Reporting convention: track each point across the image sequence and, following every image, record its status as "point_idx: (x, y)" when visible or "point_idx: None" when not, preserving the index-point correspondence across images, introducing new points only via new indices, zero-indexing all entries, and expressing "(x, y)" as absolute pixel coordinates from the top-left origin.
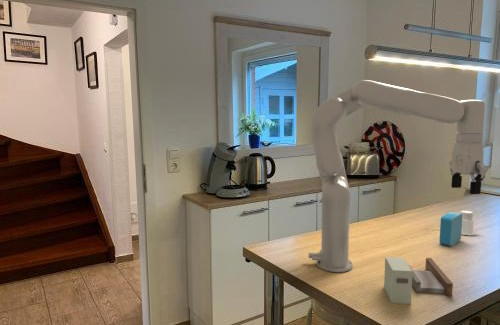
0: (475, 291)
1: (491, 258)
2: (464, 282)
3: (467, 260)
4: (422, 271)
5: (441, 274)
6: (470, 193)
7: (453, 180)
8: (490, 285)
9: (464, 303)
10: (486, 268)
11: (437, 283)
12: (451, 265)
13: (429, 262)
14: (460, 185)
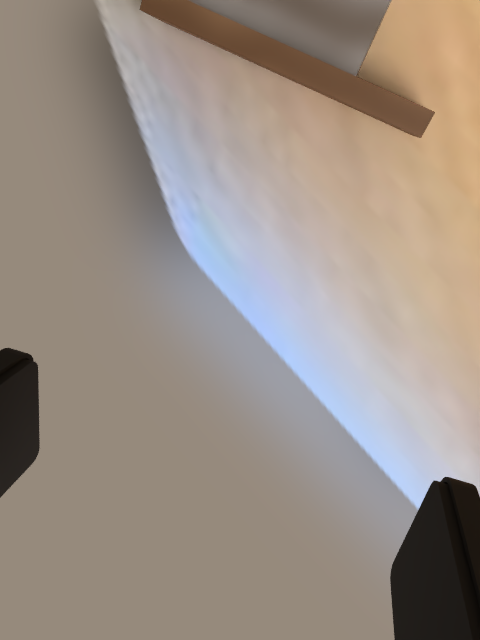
0: (178, 155)
1: (388, 457)
2: (250, 178)
3: (413, 366)
4: (365, 27)
5: (232, 30)
6: (17, 350)
7: (458, 586)
8: (205, 251)
9: (108, 28)
10: (323, 363)
11: (233, 6)
12: (401, 262)
13: (379, 87)
14: (397, 590)
